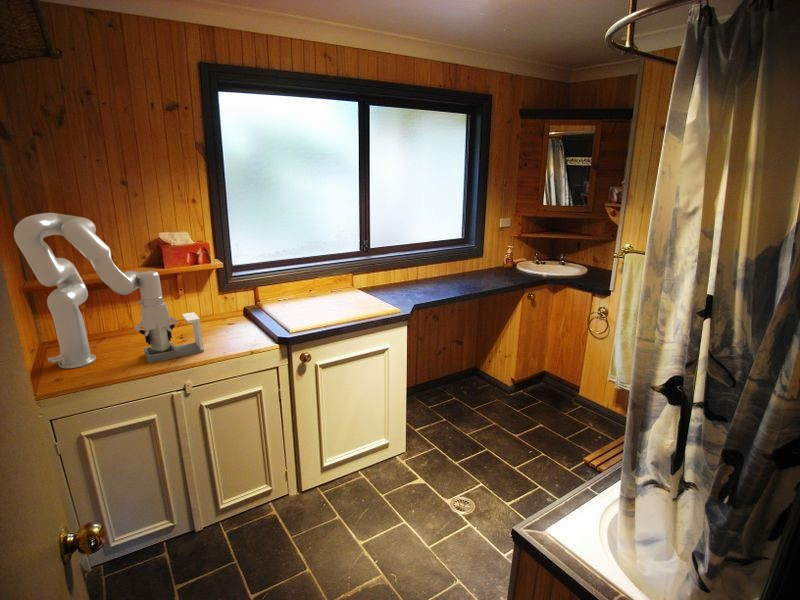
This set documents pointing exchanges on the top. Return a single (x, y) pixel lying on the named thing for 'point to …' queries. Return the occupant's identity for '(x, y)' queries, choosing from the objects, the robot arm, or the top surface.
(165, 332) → the skincare box
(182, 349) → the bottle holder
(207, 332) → the top surface
